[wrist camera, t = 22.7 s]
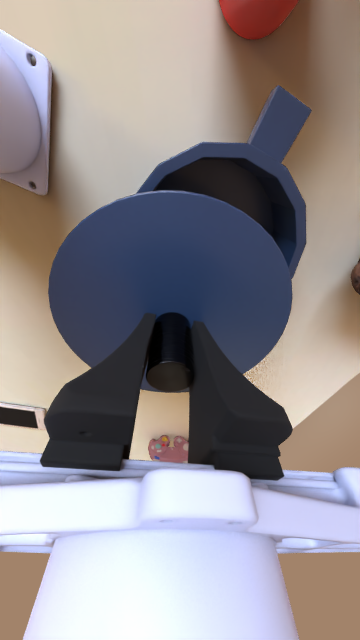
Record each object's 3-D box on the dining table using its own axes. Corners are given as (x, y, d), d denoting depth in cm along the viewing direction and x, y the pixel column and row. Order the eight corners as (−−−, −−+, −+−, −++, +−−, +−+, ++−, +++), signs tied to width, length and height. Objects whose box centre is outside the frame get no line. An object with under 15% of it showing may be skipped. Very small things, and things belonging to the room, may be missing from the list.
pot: (113, 295, 23) (100, 322, 19) (179, 50, 13) (179, -1, 9) (217, 331, 27) (224, 359, 23) (338, 162, 16) (390, 161, 12)
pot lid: (124, 394, 20) (110, 454, 16) (-3, 245, 11) (-109, 292, 7) (284, 362, 17) (318, 424, 13) (285, 133, 8) (387, 103, 4)
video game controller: (193, 429, 47) (197, 455, 40) (190, 446, 48) (194, 474, 41) (150, 427, 46) (147, 453, 39) (148, 444, 47) (145, 472, 40)
